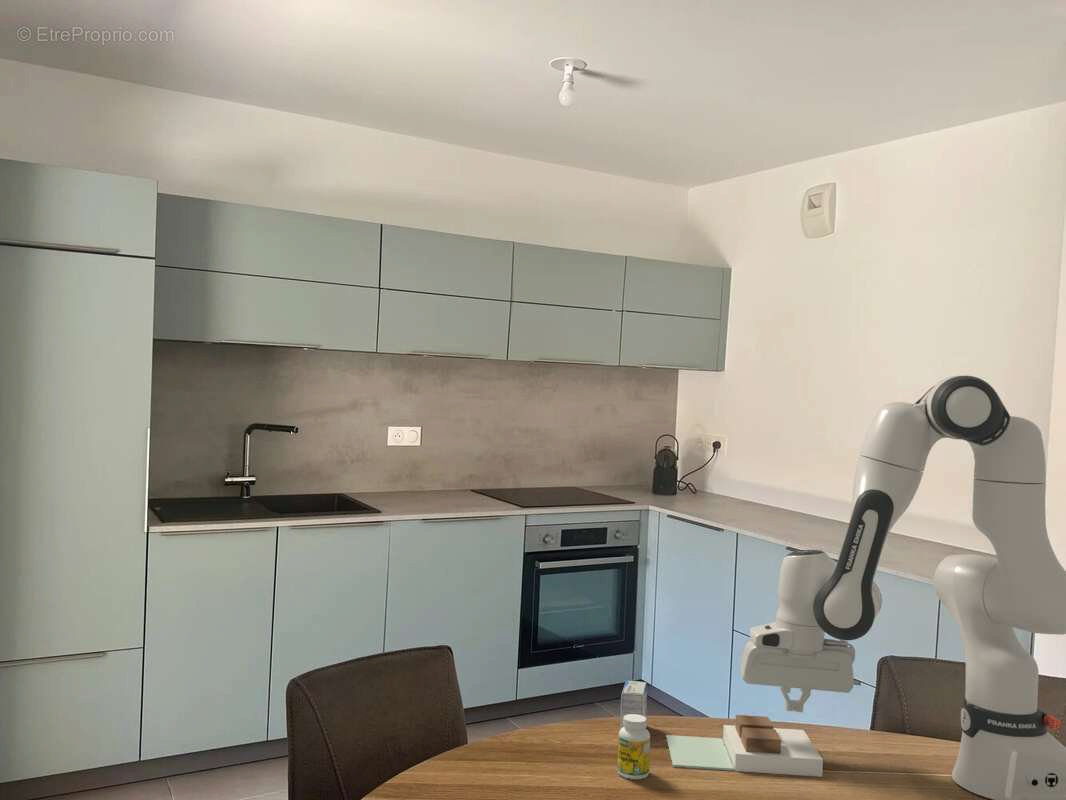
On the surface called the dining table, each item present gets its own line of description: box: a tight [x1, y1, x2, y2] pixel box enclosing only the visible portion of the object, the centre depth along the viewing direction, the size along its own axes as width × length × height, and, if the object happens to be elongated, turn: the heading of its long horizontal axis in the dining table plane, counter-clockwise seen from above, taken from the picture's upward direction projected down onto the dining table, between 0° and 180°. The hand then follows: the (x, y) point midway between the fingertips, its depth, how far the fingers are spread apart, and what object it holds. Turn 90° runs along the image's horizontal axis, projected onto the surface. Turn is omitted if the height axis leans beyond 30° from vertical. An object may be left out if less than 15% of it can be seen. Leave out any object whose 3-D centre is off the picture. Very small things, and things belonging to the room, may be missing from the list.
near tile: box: [741, 727, 781, 754], centre depth 159 cm, size 6×5×2 cm
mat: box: [665, 734, 735, 772], centre depth 163 cm, size 11×14×1 cm
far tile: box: [734, 714, 774, 738], centre depth 165 cm, size 6×5×2 cm
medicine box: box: [619, 680, 648, 731], centre depth 172 cm, size 8×4×9 cm, turn 168°
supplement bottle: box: [617, 714, 651, 780], centre depth 152 cm, size 5×5×10 cm
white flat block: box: [722, 724, 824, 778], centre depth 162 cm, size 15×14×3 cm
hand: (793, 711), depth 165 cm, fingers closed
